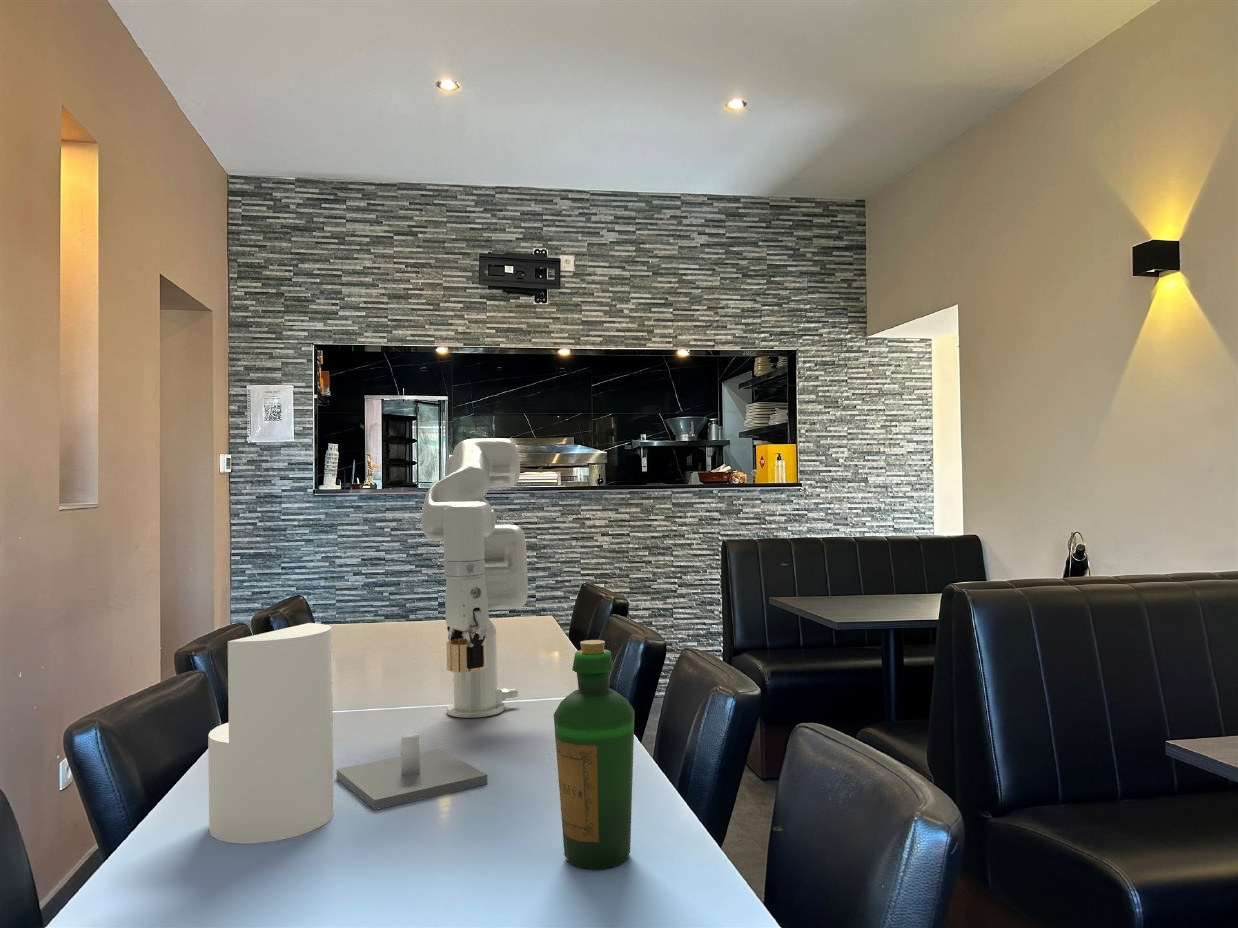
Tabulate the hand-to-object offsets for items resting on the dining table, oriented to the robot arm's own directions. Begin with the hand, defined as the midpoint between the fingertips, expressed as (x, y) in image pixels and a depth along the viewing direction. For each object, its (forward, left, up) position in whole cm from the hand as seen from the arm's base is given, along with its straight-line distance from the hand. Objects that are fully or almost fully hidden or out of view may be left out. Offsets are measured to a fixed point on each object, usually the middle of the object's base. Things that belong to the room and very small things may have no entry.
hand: (466, 663), depth 165 cm
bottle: (+7, +55, -16) cm, 58 cm away
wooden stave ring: (0, 0, -1) cm, 1 cm away
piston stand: (+15, +10, -16) cm, 24 cm away
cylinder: (+38, +14, -16) cm, 44 cm away
